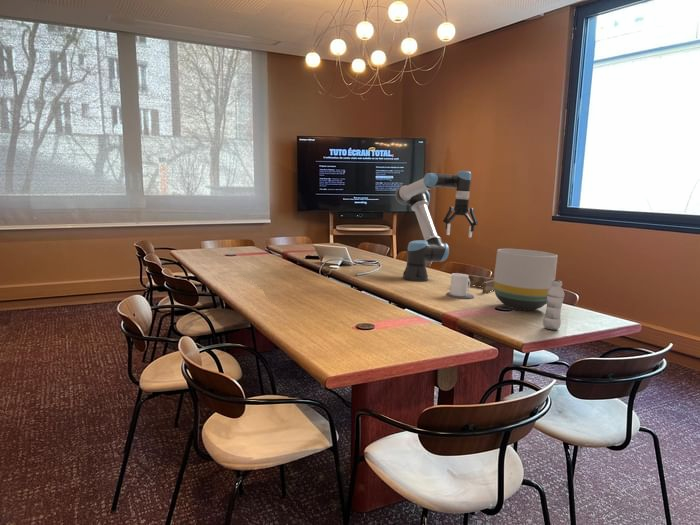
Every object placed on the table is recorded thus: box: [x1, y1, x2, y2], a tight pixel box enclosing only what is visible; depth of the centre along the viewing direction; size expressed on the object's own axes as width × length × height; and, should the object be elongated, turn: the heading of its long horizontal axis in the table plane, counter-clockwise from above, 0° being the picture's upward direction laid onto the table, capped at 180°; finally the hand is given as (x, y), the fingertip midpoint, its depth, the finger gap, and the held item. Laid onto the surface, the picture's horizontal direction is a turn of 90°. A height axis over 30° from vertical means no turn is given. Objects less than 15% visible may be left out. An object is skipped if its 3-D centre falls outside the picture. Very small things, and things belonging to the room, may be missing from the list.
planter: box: [493, 248, 558, 311], centre depth 223 cm, size 27×27×27 cm
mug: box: [449, 272, 471, 297], centre depth 244 cm, size 9×12×11 cm
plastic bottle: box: [542, 279, 566, 331], centre depth 189 cm, size 6×7×20 cm
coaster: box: [446, 291, 475, 300], centre depth 245 cm, size 14×14×1 cm
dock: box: [468, 274, 494, 294], centre depth 266 cm, size 18×18×6 cm
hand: (458, 236), depth 270 cm, fingers open, 13 cm apart
